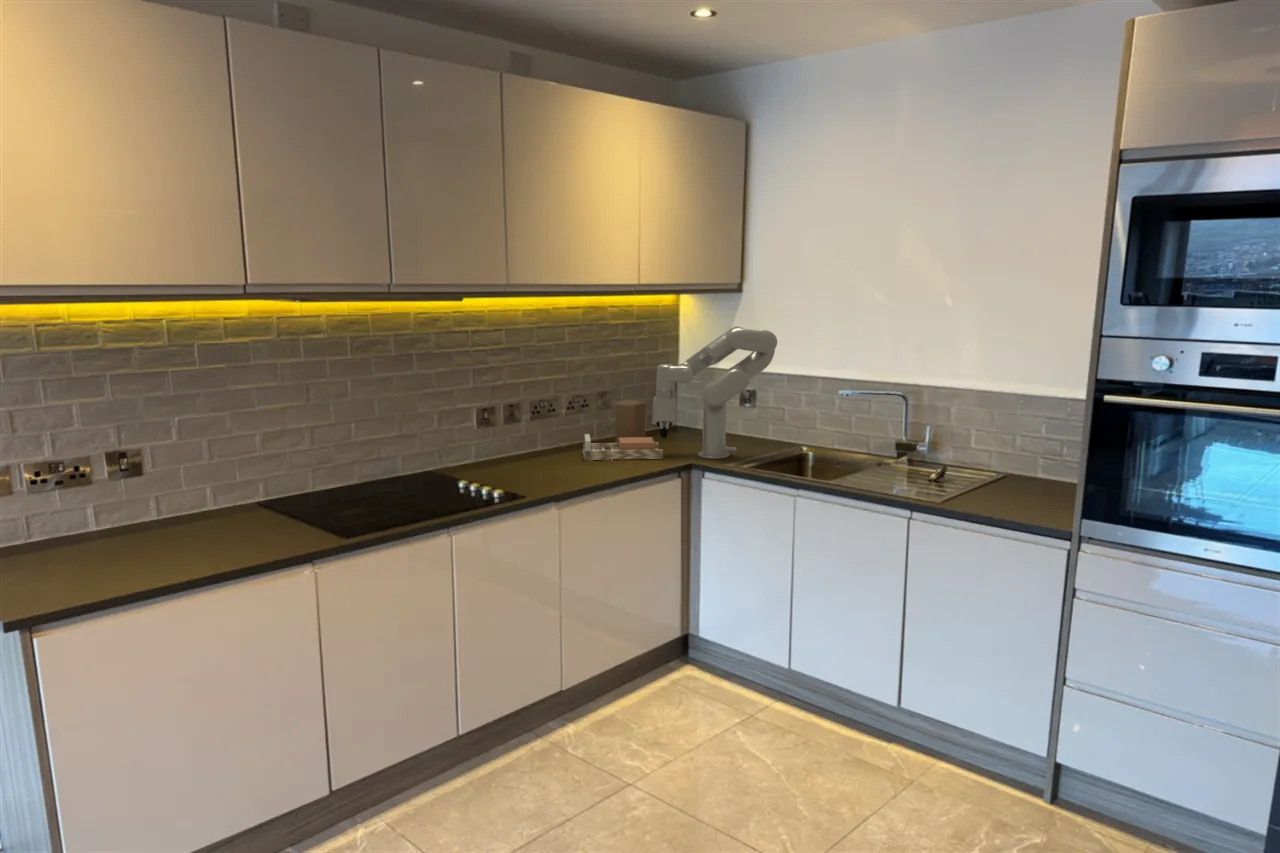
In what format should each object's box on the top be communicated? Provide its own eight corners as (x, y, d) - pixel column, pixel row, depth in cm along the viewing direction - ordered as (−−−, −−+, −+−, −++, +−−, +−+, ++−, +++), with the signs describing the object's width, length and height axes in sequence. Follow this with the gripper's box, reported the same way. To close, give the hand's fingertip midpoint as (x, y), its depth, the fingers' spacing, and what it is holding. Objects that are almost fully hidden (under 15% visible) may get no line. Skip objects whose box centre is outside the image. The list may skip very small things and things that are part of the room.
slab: (651, 444, 349) (651, 437, 348) (654, 449, 337) (654, 442, 336) (618, 444, 347) (618, 437, 347) (620, 450, 336) (620, 443, 335)
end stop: (589, 449, 349) (589, 434, 347) (590, 457, 333) (590, 441, 332) (584, 449, 348) (584, 434, 347) (585, 457, 333) (585, 441, 332)
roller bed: (658, 451, 351) (658, 442, 351) (662, 459, 336) (662, 449, 335) (583, 452, 349) (583, 443, 348) (584, 460, 333) (584, 451, 332)
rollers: (651, 448, 350) (651, 444, 349) (655, 455, 336) (655, 450, 336) (590, 449, 347) (590, 445, 347) (591, 456, 334) (591, 451, 334)
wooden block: (646, 446, 363) (646, 401, 359) (633, 450, 354) (634, 404, 351) (627, 443, 368) (627, 399, 365) (614, 447, 360) (614, 402, 356)
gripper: (681, 393, 344) (679, 436, 347) (646, 392, 342) (644, 435, 346) (684, 395, 336) (682, 439, 340) (648, 395, 335) (646, 439, 338)
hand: (663, 437), depth 343 cm, fingers closed
